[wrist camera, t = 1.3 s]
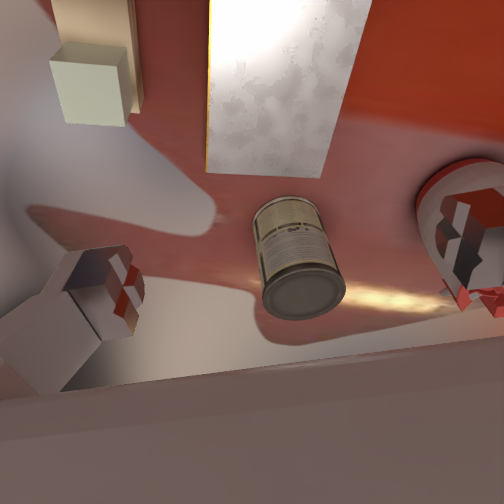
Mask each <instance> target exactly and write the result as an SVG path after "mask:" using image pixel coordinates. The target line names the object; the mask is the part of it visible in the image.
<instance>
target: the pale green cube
mask: <svg viewBox="0 0 504 504" xmlns="http://www.w3.org/2000/svg"><path fill="white" fill-rule="evenodd" d="M49 63H50V67H51V70H52V74H53V78H54V82H55V85H56V89H57V92H58V96H59V100H60V104H61V108H62V111H63V115H64V119H65V122H66V123H77V124H92V125H106V126H122V127H125V126H126V123H127V121H128V118H129V115H130V112H131V109H132V106H133V96H132V88H131V80H130V72H129V63H128V55H127V48H126V47H115V46H105V45H95V44H85V43H74V42H66V43H65V44H64V45H63V46H62V47H61V48H60V50H59V51H58V52H57V53H56V54H55V55H54V56H53V57H52V58H51V59H50V60H49Z"/></svg>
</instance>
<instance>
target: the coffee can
mask: <svg viewBox="0 0 504 504" xmlns="http://www.w3.org/2000/svg"><path fill="white" fill-rule="evenodd" d="M252 227H253V232H254V237H255V244H256V251H257V257H258V264H259V271H260V278H261V285H262V292H263V295H262V299H263V305H264V307H265V309H266V310H267V312H268V313H270V314H271V315H273V316H275V317H277V318H280V319H284V320H293V321H297V320H307V319H312V318H315V317H318V316H321V315H323V314H325V313H327V312H329V311H330V310H332V309H333V308H335V307H336V306H337V305H338V304H339V303H340V302H341V300H342V299H343V297H344V295H345V292H346V285H345V282H344V279H343V277H342V276H341V274H340V271H339V268H338V266H337V263H336V260H335V257H334V255H333V252H332V249H331V247H330V244H329V241H328V239H327V236H326V233H325V230H324V227H323V225H322V222H321V219H320V216H319V212H318V210H317V208H316V207H315V205H314V204H313V203H312V202H310V201H309V200H307V199H305V198H301V197H297V196H286V197H279V198H276V199H274V200H272V201H270V202H268V203H266V204H265V205H263V207H261V208H260V209H259V211H258V212H257V213H256V215H255V217H254V219H253V224H252Z"/></svg>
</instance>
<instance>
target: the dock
mask: <svg viewBox="0 0 504 504" xmlns="http://www.w3.org/2000/svg"><path fill="white" fill-rule="evenodd" d="M371 2H372V0H210V17H209V58H208V98H207V139H206V172H208V173H224V174H244V175H265V176H286V177H307V178H320V176H321V173H322V169H323V166H324V162H325V159H326V156H327V152H328V149H329V145H330V142H331V139H332V135H333V132H334V128H335V125H336V122H337V118H338V115H339V111H340V108H341V105H342V101H343V98H344V94H345V91H346V87H347V84H348V81H349V77H350V74H351V70H352V67H353V64H354V60H355V57H356V53H357V50H358V47H359V43H360V40H361V36H362V33H363V30H364V26H365V23H366V19H367V16H368V12H369V9H370V6H371Z"/></svg>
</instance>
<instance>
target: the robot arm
mask: <svg viewBox="0 0 504 504" xmlns="http://www.w3.org/2000/svg"><path fill="white" fill-rule="evenodd" d="M440 212H441V213H442V215H443V216H444V218H443V219H442V220H441V221H440V222H439V223H438V224H437V225H436V232H435V242H436V247H437V250H438V252H439V254H440V256H441V257H442V258H443V260H445V261H447V262H449V263H451V264H453V265H454V268H453V273H454V274H455V276H456V277H457V278H458V280H459V281H460V282H461V284H462V285H463V286H464V288H465V289H466V290H473V289H482V288H491V287H500V286H504V185H502V186H497V187H492V188H487V189H482V190H476V191H471V192H465V193H459V194H453V195H447V196H445V197H444V199H443V200H442V202H441V207H440ZM132 259H133V256H132V254H131V252H130V250H129V248H128V247H127V246H125V245H117V246H109V247H102V248H94V249H88V250H80V251H74V252H69V253H67V254H65V255H64V256H63V258H62V260H61V261H60V263H59V264H58V266H57V268H56V269H55V271H54V273H53V274H52V276H51V277H50V279H49V281H48V282H47V284H46V285H45V287H44V289H43V290H42V292H41V294H40V295H35V296H33V297H31V298H30V299H28V300H27V301H25V302H24V303H23V304H21V305H20V306H18V307H17V308H15V309H14V310H13V311H11V312H10V313H8V314H7V315H5V316H4V317H3V318H1V319H0V504H504V336H499V337H491V338H483V339H475V340H468V341H459V342H451V343H445V344H444V343H443V344H437V345H428V346H420V347H412V348H404V349H396V350H388V351H381V352H373V353H365V354H357V355H350V356H343V357H335V358H326V359H318V360H310V361H304V362H295V363H288V364H279V365H272V366H264V367H256V368H249V369H241V370H233V371H225V372H217V373H210V374H202V375H195V376H187V377H178V378H172V379H171V378H170V379H163V380H156V381H147V382H140V383H132V384H124V385H116V386H109V387H100V388H93V389H85V390H77V391H69V392H62V393H58V392H59V391H60V390H61V389H62V388H63V386H64V385H65V384H66V383H67V382H68V381H69V380H70V379H71V377H72V376H73V375H74V374H75V373H76V372H77V370H78V369H79V368H80V367H81V366H82V365H83V364H84V362H85V361H86V360H87V359H88V358H89V357H90V355H91V354H92V353H93V352H94V351H95V350H96V349H97V347H98V346H99V345H100V344H101V341H105V340H111V339H117V338H123V337H129V336H133V335H134V331H135V328H136V324H137V321H138V317H139V315H138V313H137V311H136V309H137V308H138V307H139V306H140V305H141V304H142V303H143V299H144V281H143V277H142V275H141V273H140V270H139V269H137V268H136V267H134V266H133V265H131V262H132ZM503 288H504V287H503Z"/></svg>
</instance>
